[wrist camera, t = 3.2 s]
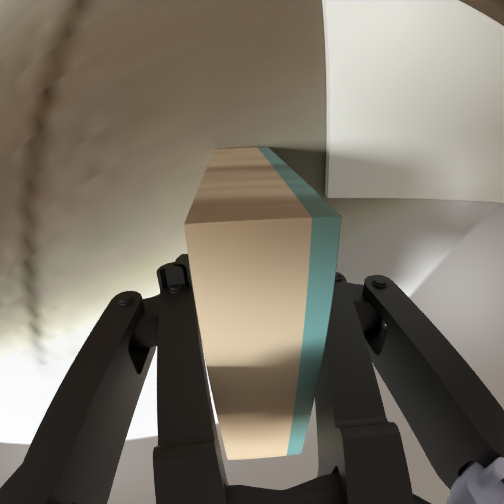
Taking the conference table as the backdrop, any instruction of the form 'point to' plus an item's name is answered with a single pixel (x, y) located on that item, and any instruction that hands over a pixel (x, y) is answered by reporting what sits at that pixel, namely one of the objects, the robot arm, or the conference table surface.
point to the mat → (413, 100)
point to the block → (261, 296)
